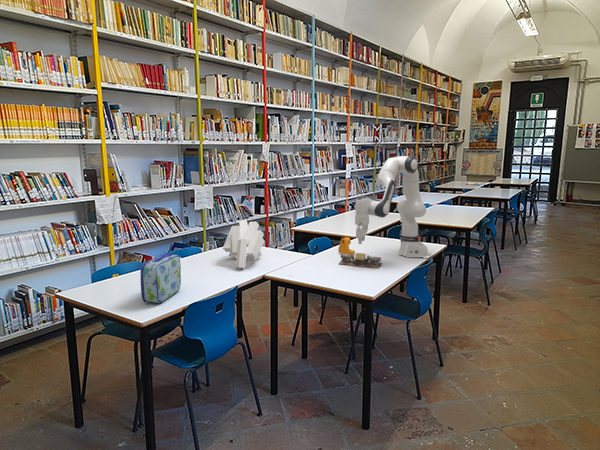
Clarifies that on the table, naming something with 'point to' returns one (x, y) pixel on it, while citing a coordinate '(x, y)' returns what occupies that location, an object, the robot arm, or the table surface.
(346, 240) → the orange toy figure
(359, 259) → the coupler
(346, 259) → the shaft bench
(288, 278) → the table surface
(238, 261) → the pile of blocks
